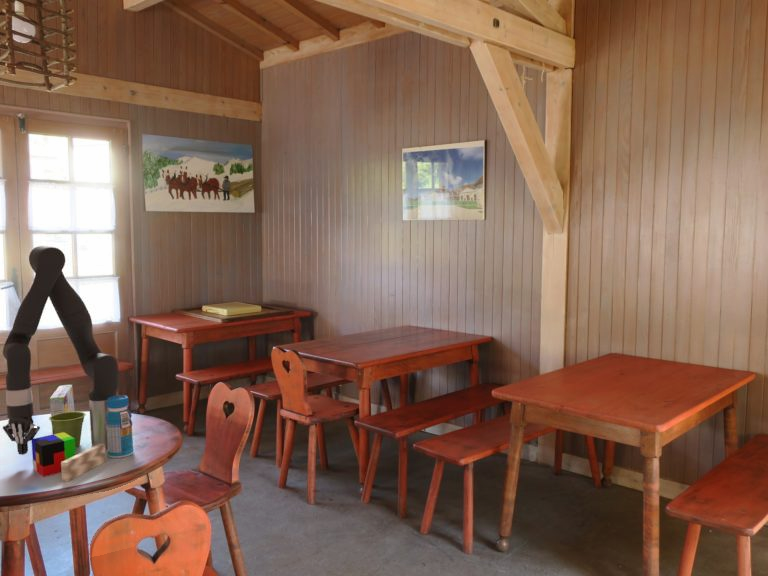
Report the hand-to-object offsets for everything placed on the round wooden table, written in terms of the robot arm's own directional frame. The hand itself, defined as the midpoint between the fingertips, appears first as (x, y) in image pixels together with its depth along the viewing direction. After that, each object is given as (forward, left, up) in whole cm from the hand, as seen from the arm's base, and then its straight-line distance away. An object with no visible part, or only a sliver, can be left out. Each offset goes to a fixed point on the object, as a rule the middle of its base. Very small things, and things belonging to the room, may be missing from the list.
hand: (22, 453), depth 215 cm
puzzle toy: (0, +12, -5) cm, 13 cm away
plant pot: (-20, +1, -4) cm, 21 cm away
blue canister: (-16, +25, -4) cm, 30 cm away
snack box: (-39, -17, -5) cm, 43 cm away
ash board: (0, +23, -4) cm, 24 cm away
